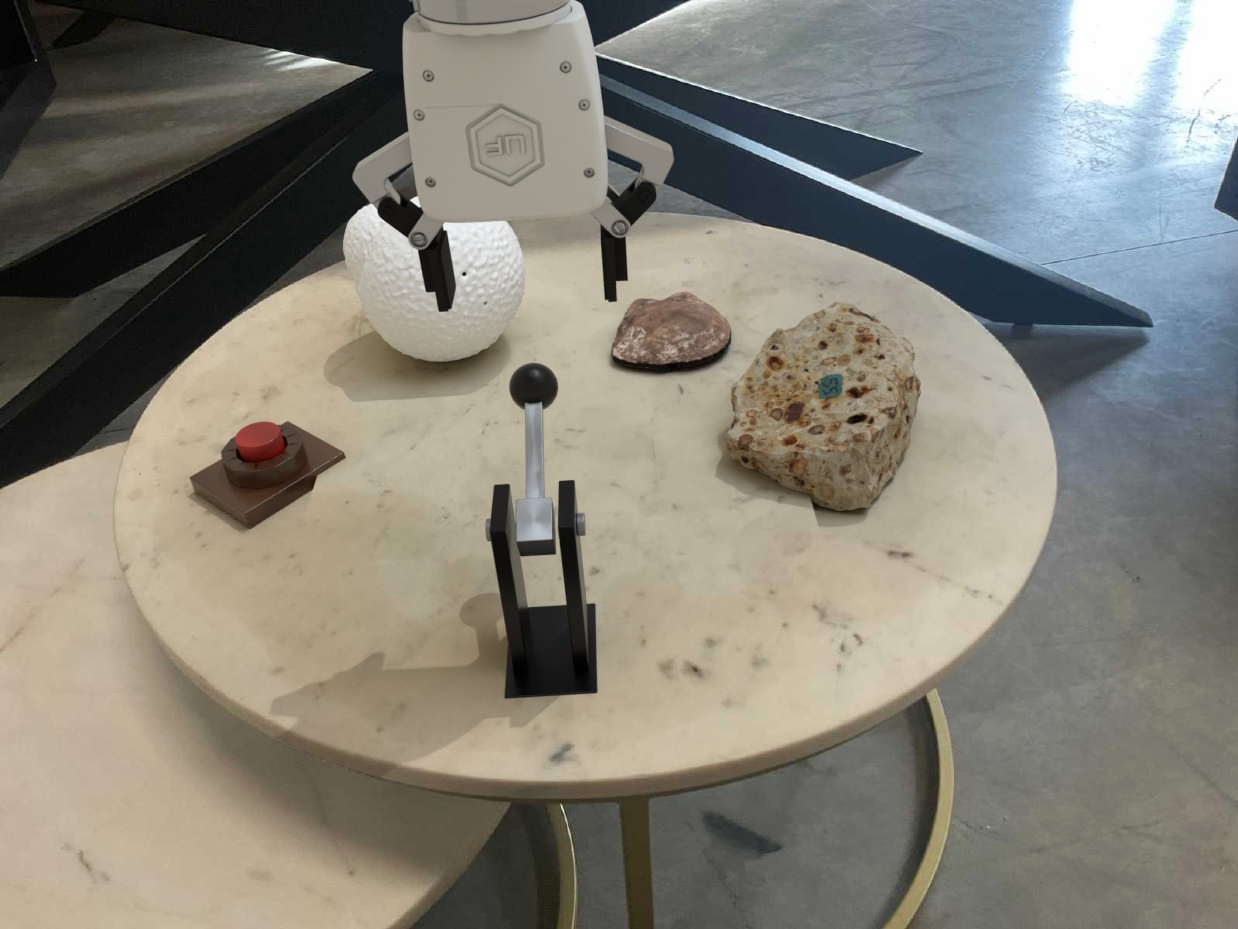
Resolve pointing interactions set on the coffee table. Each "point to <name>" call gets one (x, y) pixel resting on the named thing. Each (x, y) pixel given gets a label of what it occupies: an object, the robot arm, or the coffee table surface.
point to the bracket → (544, 607)
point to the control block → (265, 476)
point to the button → (259, 442)
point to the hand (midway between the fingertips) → (529, 295)
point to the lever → (534, 460)
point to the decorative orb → (411, 314)
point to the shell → (670, 333)
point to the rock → (827, 407)
